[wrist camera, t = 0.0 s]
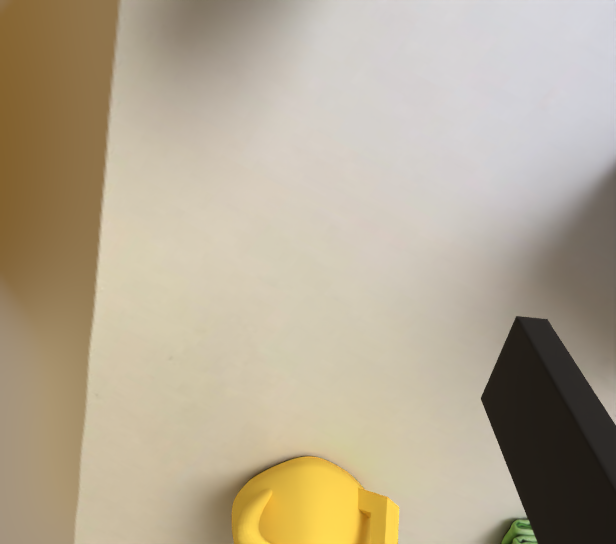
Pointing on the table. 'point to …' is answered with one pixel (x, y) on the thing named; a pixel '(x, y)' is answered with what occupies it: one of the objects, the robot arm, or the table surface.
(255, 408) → the table surface
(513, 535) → the dish towel
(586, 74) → the table surface
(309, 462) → the teapot
